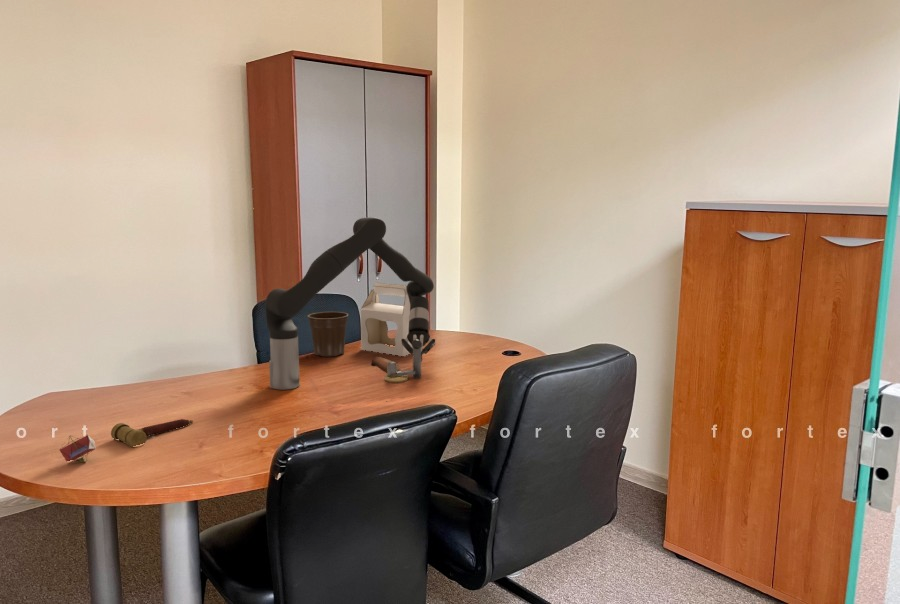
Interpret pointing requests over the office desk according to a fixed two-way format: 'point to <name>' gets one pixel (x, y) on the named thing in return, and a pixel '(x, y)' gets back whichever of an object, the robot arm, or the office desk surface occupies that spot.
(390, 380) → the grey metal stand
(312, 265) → the robot arm
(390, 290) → the gable box
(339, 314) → the plant pot
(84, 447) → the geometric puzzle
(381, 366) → the sunglasses case
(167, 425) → the gavel
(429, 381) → the office desk surface
